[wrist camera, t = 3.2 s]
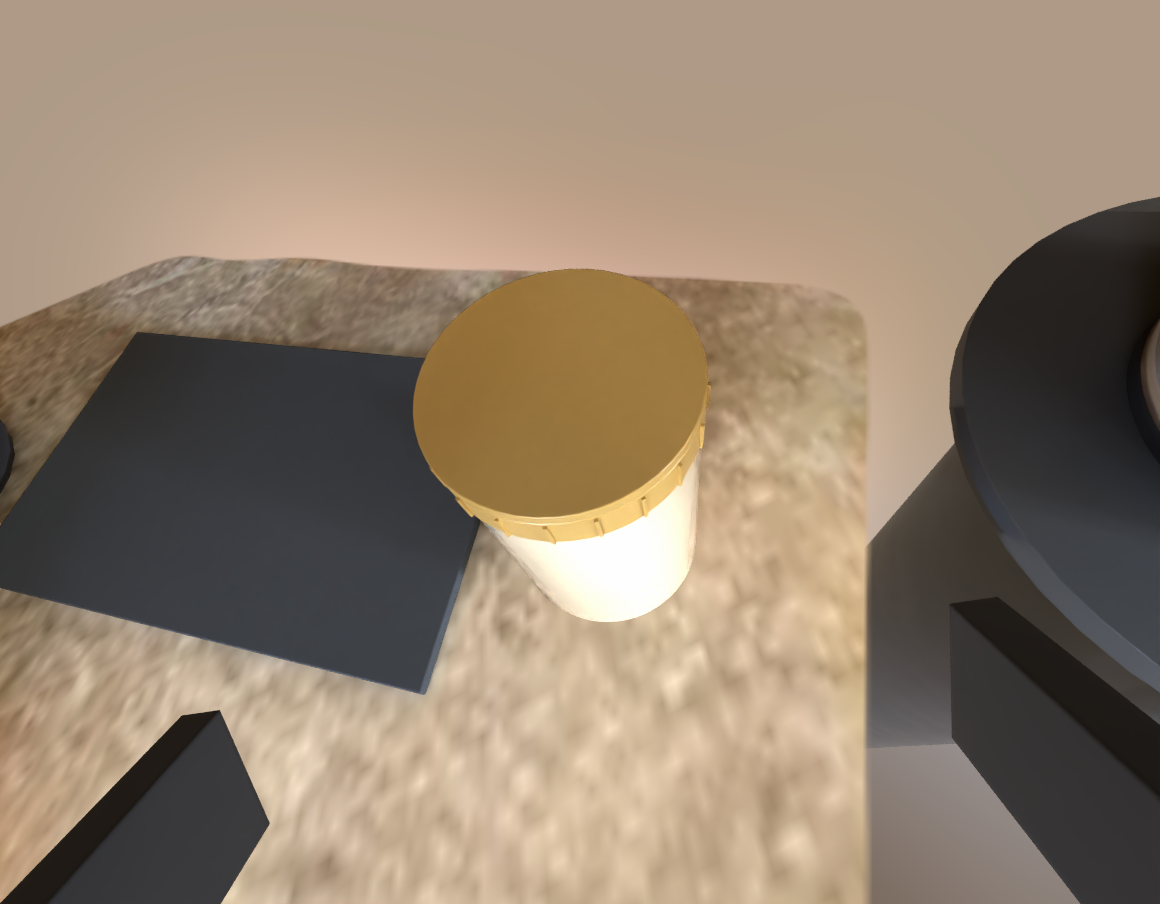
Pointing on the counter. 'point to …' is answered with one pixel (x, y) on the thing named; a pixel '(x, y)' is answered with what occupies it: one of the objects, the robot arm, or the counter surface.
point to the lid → (563, 404)
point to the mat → (251, 507)
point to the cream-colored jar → (617, 560)
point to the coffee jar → (5, 455)
